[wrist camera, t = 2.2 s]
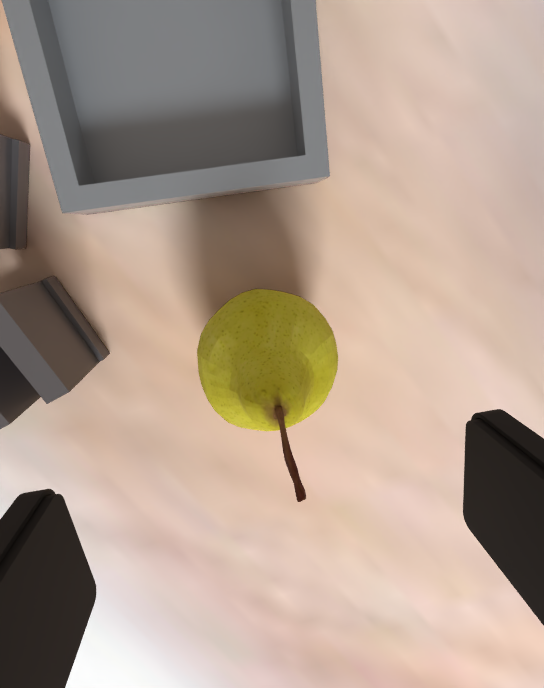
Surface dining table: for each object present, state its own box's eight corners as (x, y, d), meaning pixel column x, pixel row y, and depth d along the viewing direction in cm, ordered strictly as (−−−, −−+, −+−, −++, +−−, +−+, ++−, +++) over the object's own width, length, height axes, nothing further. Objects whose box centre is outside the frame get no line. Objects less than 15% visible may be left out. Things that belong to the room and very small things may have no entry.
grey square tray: (289, -115, 17) (300, -184, 14) (317, 182, 20) (329, 176, 18) (8, -85, 16) (-42, -150, 13) (87, 214, 20) (62, 213, 17)
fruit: (193, 288, 22) (143, 362, 10) (314, 270, 22) (399, 323, 10) (215, 400, 24) (194, 565, 12) (325, 382, 24) (405, 529, 13)
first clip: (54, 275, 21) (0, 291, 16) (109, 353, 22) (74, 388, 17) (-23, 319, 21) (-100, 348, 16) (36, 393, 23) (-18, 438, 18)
